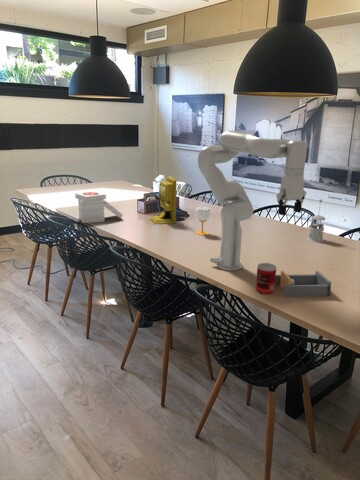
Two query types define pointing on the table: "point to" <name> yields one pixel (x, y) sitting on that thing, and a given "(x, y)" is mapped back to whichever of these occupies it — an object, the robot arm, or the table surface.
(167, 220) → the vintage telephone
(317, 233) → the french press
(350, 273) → the table surface
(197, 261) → the table surface
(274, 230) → the table surface
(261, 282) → the canned food
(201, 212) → the cup
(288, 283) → the pusher
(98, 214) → the pizza boxes
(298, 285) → the frame
